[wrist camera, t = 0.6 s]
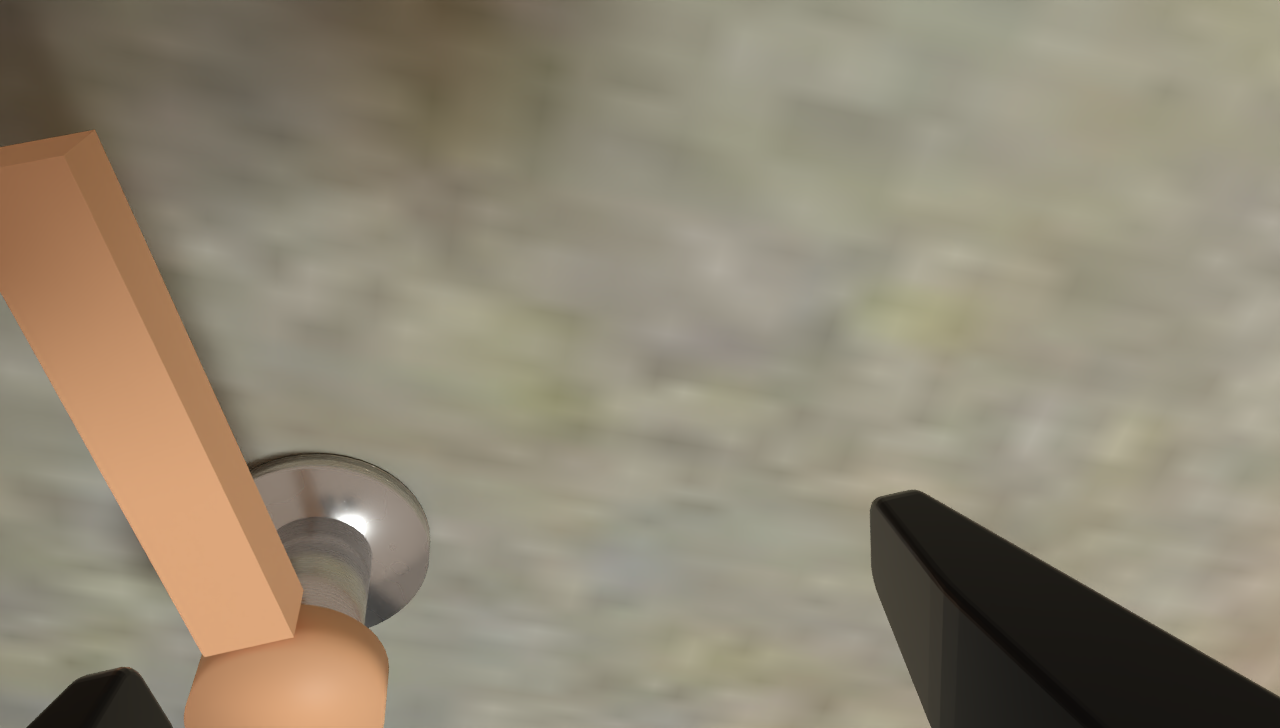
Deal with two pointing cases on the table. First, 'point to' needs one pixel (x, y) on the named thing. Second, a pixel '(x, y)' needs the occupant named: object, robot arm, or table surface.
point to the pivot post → (347, 533)
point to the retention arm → (171, 450)
